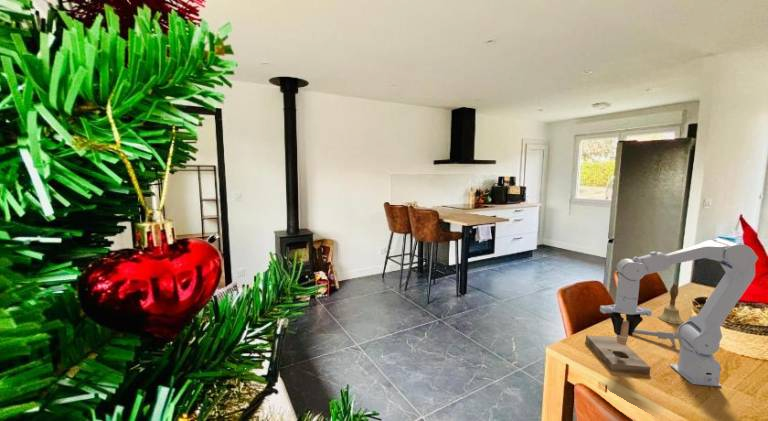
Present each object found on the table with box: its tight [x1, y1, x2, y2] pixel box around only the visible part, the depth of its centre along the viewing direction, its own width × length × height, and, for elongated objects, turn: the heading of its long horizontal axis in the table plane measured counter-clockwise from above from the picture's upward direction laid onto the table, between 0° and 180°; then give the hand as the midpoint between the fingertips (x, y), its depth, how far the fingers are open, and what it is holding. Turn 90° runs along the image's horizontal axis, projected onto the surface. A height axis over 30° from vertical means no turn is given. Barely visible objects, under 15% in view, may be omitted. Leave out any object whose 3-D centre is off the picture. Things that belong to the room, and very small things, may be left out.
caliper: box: [633, 328, 682, 347], centre depth 122 cm, size 20×1×6 cm, turn 49°
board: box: [585, 334, 651, 375], centre depth 110 cm, size 18×11×2 cm, turn 171°
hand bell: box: [657, 283, 685, 325], centre depth 136 cm, size 8×8×16 cm
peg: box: [616, 318, 629, 345], centre depth 106 cm, size 3×3×8 cm
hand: (622, 334), depth 106 cm, fingers closed on peg, 3 cm apart
